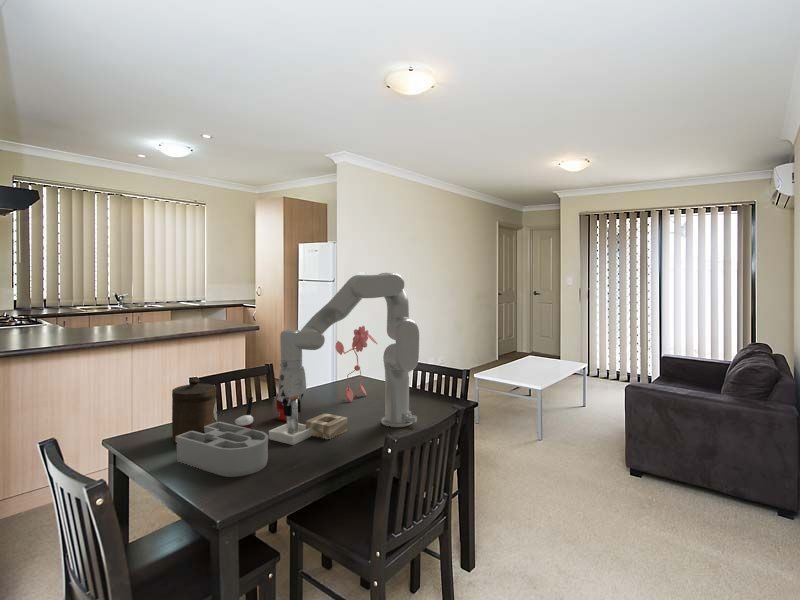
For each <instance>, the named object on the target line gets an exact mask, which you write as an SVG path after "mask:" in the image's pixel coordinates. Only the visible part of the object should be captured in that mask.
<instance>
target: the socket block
mask: <svg viewBox="0 0 800 600" xmlns="http://www.w3.org/2000/svg"><path fill="white" fill-rule="evenodd" d="M305 425H306V430H307V429H309V428H313V436H312V437H315V436H316V438H319V437H321V438H320V439H324V438H325V440H328V439H330V440H332V439H334V438H336V437H338V436H339V435H342V434H344V433H346V432H347V431H348V425H349V423H348V417H347V416H346V417H345V416H342V415H341V416H340V415H336V414H330V413H326V412H325V413H322V414H320V415H317V416H315V417H313V418H310V419H307V420H305ZM337 435H338V436H337ZM335 436H336V437H335ZM333 437H334V438H333ZM331 438H332V439H331Z"/></svg>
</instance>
